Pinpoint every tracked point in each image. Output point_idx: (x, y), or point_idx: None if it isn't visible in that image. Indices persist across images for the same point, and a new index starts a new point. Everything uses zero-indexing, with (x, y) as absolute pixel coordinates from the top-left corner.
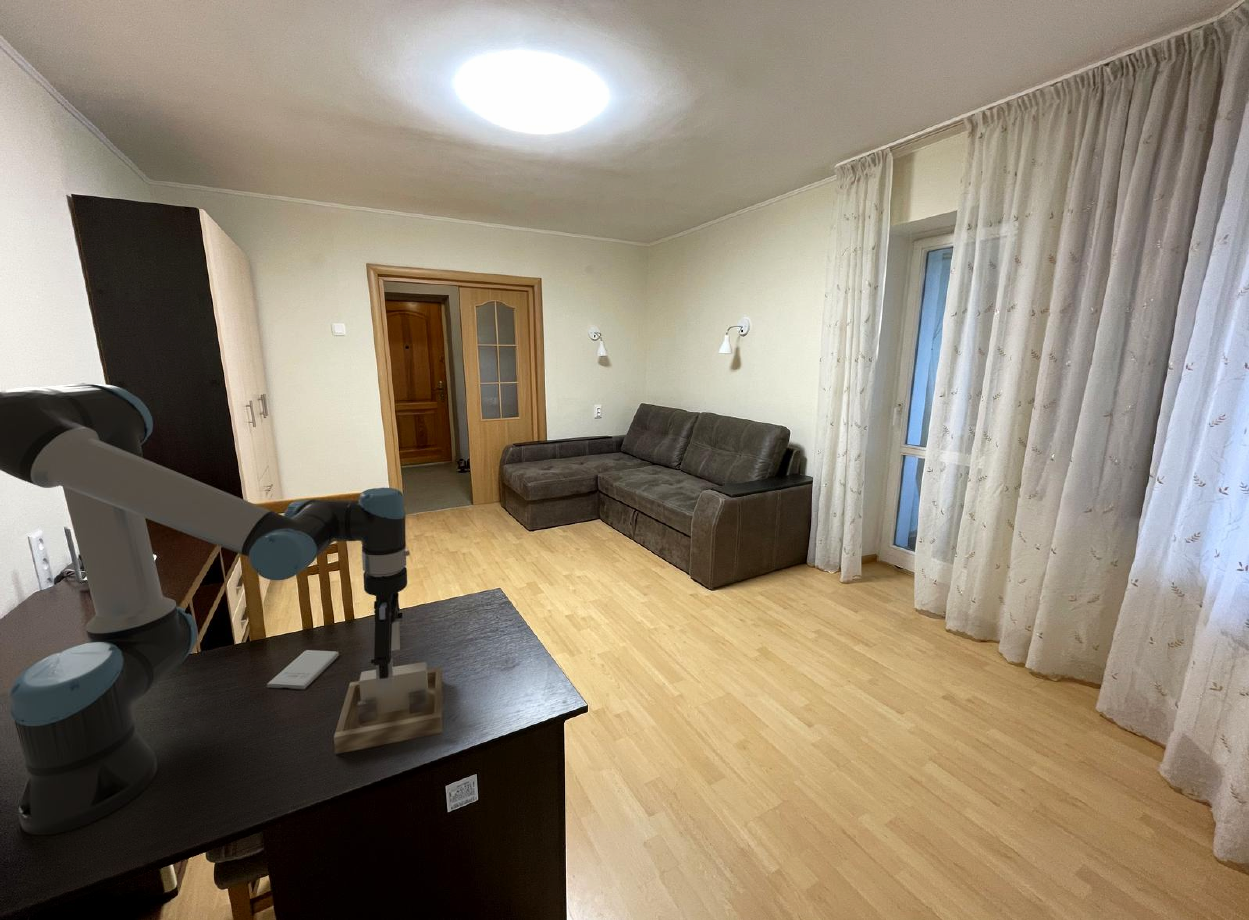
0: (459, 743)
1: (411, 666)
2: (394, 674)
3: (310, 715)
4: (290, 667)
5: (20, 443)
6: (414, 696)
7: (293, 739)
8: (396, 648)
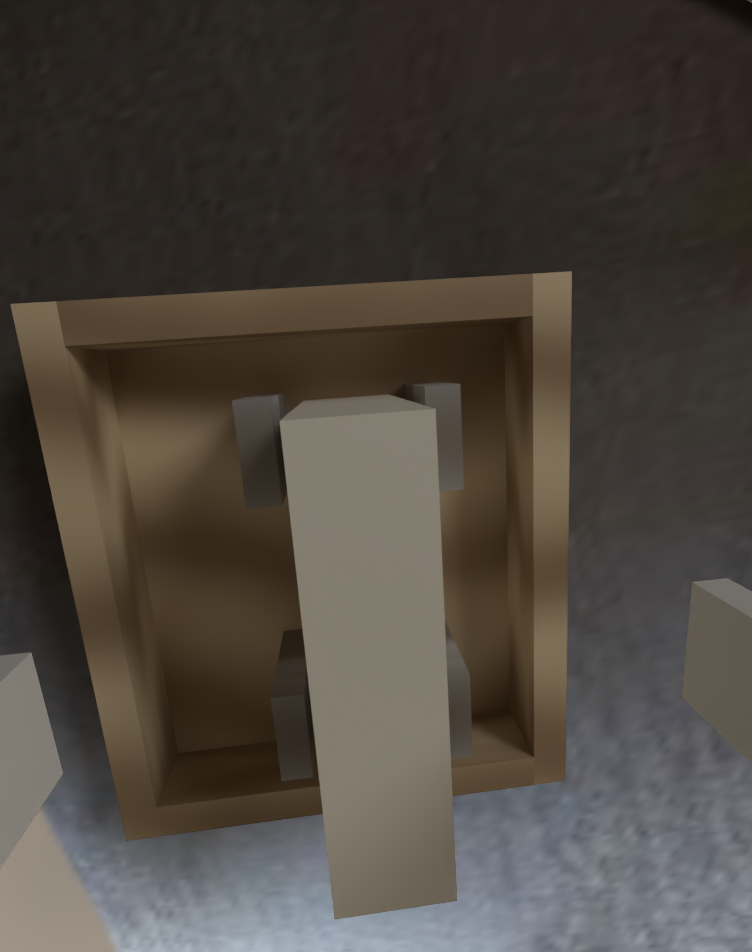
0: (83, 837)
1: (416, 807)
2: (325, 705)
3: (420, 88)
4: None
5: None
6: (274, 722)
7: (227, 45)
8: (697, 682)
